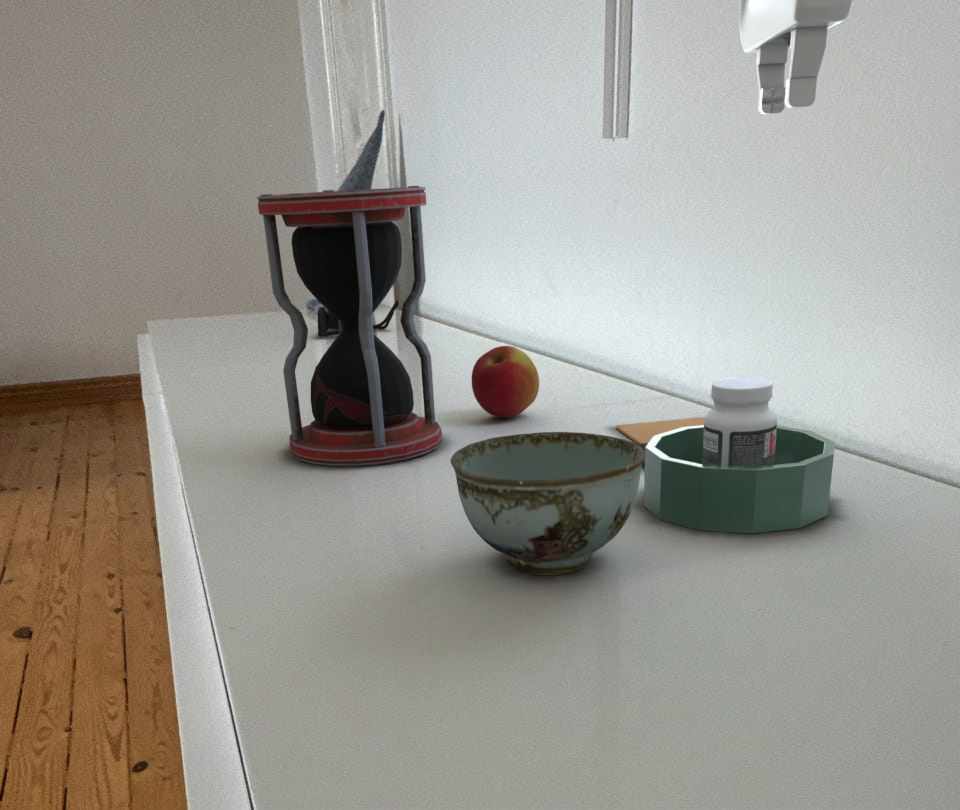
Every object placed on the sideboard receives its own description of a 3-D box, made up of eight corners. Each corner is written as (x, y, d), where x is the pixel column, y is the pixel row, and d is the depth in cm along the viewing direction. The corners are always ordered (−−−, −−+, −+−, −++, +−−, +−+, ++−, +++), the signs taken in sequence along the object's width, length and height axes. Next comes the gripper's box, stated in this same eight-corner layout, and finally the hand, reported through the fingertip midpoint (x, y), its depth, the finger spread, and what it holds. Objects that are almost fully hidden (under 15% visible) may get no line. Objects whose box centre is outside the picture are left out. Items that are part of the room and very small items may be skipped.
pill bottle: (779, 497, 84) (789, 377, 79) (759, 518, 79) (769, 391, 75) (713, 490, 86) (719, 374, 82) (690, 509, 82) (695, 387, 78)
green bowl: (777, 472, 90) (782, 417, 88) (863, 521, 77) (871, 458, 75) (623, 488, 88) (624, 432, 86) (684, 541, 75) (687, 477, 73)
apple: (462, 415, 118) (458, 346, 114) (524, 406, 121) (522, 338, 117) (487, 428, 111) (484, 354, 108) (552, 418, 114) (551, 346, 111)
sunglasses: (388, 337, 178) (386, 308, 176) (311, 339, 181) (308, 310, 179) (411, 323, 193) (408, 296, 191) (339, 325, 196) (336, 298, 193)
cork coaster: (702, 419, 110) (703, 417, 110) (741, 440, 101) (741, 437, 101) (615, 428, 109) (615, 425, 108) (646, 450, 100) (647, 447, 100)
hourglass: (420, 422, 115) (402, 185, 105) (461, 454, 101) (445, 185, 91) (280, 439, 111) (247, 194, 101) (303, 475, 97) (267, 195, 87)
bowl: (583, 610, 64) (582, 490, 61) (419, 574, 72) (411, 465, 68) (674, 546, 74) (678, 440, 71) (522, 520, 82) (519, 423, 78)
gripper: (897, -165, 59) (868, 99, 65) (811, -86, 78) (795, 115, 83) (788, -158, 60) (770, 104, 65) (729, -81, 78) (719, 119, 84)
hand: (784, 110), depth 75 cm, fingers open, 8 cm apart
